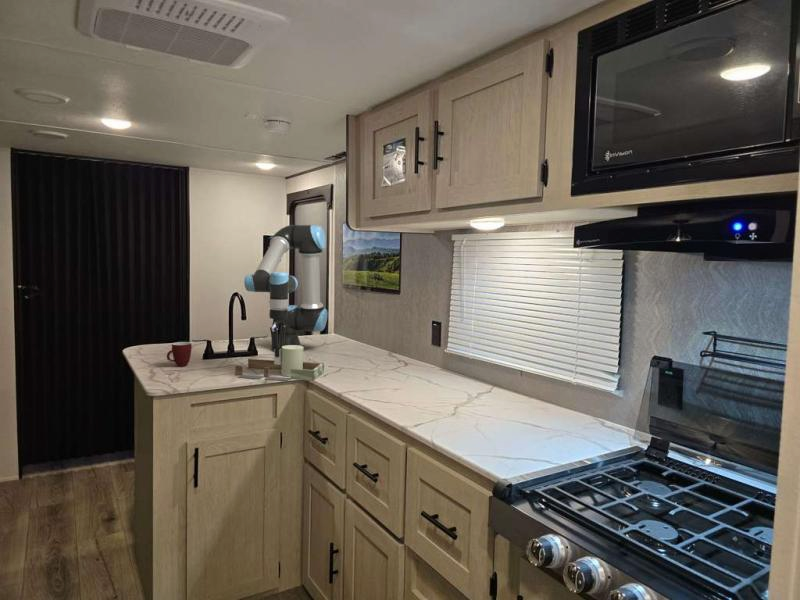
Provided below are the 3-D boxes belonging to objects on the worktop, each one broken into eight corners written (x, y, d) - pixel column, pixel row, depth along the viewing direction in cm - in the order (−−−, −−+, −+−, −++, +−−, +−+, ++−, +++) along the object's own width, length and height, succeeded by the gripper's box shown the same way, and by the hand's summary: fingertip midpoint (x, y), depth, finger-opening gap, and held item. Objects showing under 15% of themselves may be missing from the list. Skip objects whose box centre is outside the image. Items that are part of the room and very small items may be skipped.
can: (295, 377, 222) (296, 348, 221) (276, 374, 225) (277, 346, 224) (307, 373, 231) (307, 345, 229) (288, 370, 234) (289, 343, 233)
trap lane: (249, 367, 237) (249, 358, 237) (323, 372, 232) (323, 363, 232) (235, 375, 223) (235, 365, 223) (314, 380, 219) (314, 370, 218)
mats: (241, 375, 223) (241, 374, 223) (290, 378, 220) (290, 378, 220) (237, 377, 219) (237, 377, 219) (287, 381, 216) (287, 380, 216)
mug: (173, 369, 229) (173, 346, 228) (163, 366, 234) (162, 344, 233) (195, 365, 238) (195, 343, 237) (184, 362, 243) (184, 341, 242)
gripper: (275, 306, 232) (275, 360, 234) (264, 310, 219) (263, 366, 221) (292, 307, 231) (291, 361, 233) (281, 311, 218) (280, 368, 220)
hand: (277, 364), depth 227 cm, fingers closed
